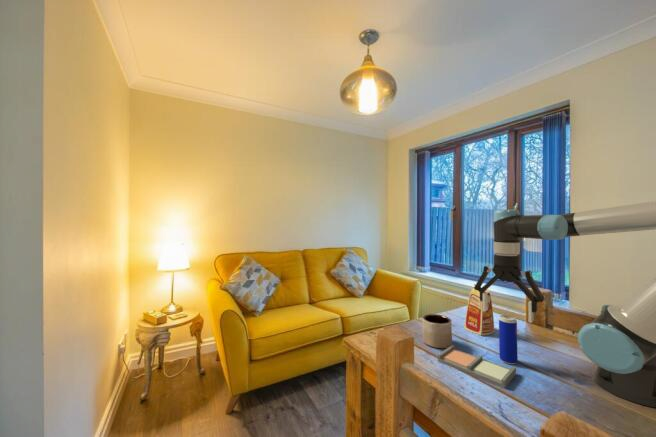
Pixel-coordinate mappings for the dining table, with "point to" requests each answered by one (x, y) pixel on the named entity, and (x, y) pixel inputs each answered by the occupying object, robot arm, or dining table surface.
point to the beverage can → (508, 339)
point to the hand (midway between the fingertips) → (506, 315)
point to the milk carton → (479, 314)
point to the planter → (437, 331)
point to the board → (477, 366)
